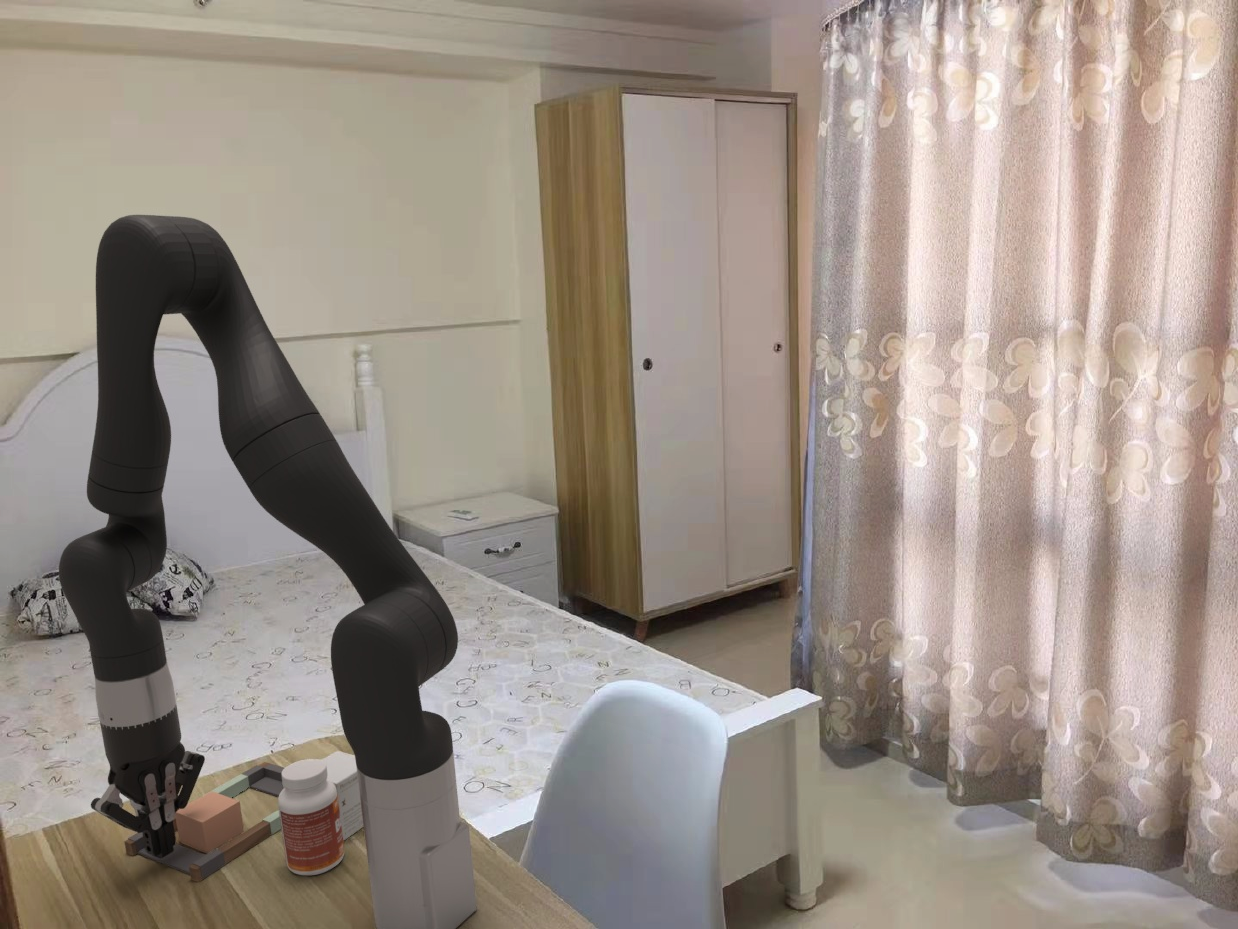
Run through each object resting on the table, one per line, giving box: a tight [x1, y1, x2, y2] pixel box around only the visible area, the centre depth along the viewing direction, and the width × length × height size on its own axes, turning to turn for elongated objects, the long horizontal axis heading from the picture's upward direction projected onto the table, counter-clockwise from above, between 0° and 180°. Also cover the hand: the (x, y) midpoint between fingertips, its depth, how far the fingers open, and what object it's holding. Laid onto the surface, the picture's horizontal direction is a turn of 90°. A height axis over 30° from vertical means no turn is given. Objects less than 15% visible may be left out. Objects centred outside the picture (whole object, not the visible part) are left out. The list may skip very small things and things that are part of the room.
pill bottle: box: [277, 758, 345, 876], centre depth 114 cm, size 6×6×11 cm
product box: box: [320, 750, 364, 841], centre depth 122 cm, size 6×6×7 cm
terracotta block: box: [175, 790, 245, 854], centre depth 121 cm, size 5×5×4 cm
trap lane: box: [124, 761, 285, 883], centre depth 124 cm, size 12×20×2 cm, turn 149°
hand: (162, 853), depth 116 cm, fingers closed
